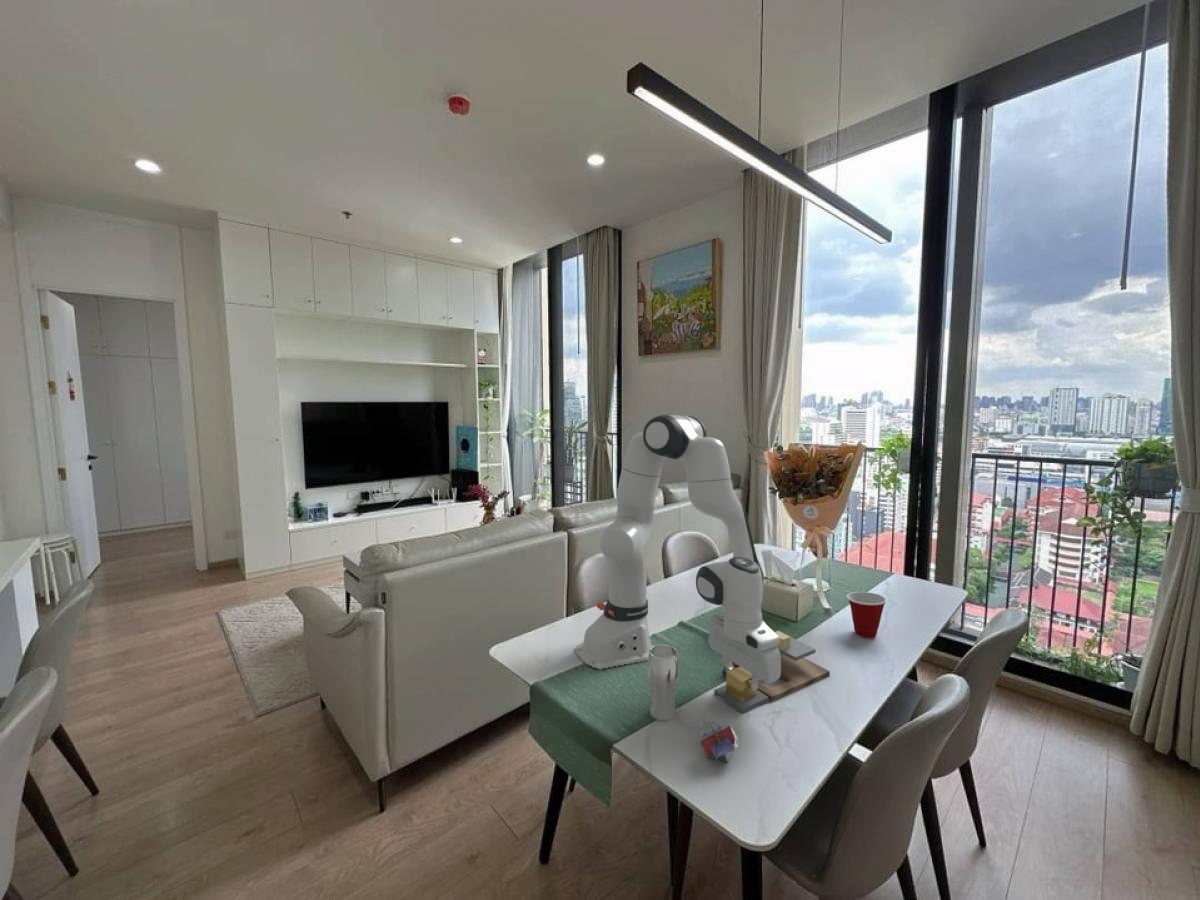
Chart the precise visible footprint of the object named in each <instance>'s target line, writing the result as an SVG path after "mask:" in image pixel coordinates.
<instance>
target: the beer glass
mask: <svg viewBox="0 0 1200 900" xmlns="http://www.w3.org/2000/svg"><path fill="white" fill-rule="evenodd" d="M648 655H649V657H648V660H647V674H648V675H647V676H648V683H649V689H650V693H651V695H650V697H651V699H650V700H651V701H650V705H649V706H650V707H649V714H650V716H651V718H653V719H655V720H656V721H660V722H667V721H672V720H674V719H675V717H676V715H677V709H676V703H675V696H676V689H677V685H678V680H679V679H678V678H679V657H678V656H679V654H678V650H677V649H676V648H675V647H674V646H672V645H670V644H663V643H661V644H660V643H659V644H655V645H652V647H651V648H650V649H649V654H648Z"/></svg>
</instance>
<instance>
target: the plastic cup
mask: <svg viewBox="0 0 1200 900" xmlns="http://www.w3.org/2000/svg"><path fill="white" fill-rule="evenodd" d="M846 598H847V599H848V603H849V606H850V611H851V617H852V618H851V619H852V623H853V630H854V633H855V635H857V636H859V637H861V638H864V639H875V638H876V637H877V634H878V629H879V628H880V623H881V619H882V614H883V611H884V607H885V604H886V603H887V599H888V598H886V597H885V596H883V595H882V594H879V593H874V592H867V591H854V592H850V593H847V594H846ZM874 637H875V638H874Z"/></svg>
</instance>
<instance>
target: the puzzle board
mask: <svg viewBox="0 0 1200 900" xmlns="http://www.w3.org/2000/svg"><path fill="white" fill-rule="evenodd" d="M780 656H781V675H780V678H779V679H778V680H780V681H782V682H783V683H781V684H778V685H776V686H774V687H771V688H770V687H769V686H767V685H766V684H764V683H763V682H761V681H759V682H758V688H757V690H758V691H760V692H761V693H763V694H764V695H766V696H768V697H769V702H774V701H777V700H778V699H780V698H783V697H786V696H787V695H790V694H792V693H794V692H797V691H798V690H800V689H803V688H805V687H807V686H809V685H812V684H815V683H816V682H818V681H821V680H822V679H825V678H827V677H829V676H830V674H831V673H830V672H831V671H830V670H829V669H827V668H824V667H823V666H821V665H819V664H817V663H815V662H813V661H811V660H810V659H807V658H806V657H804V658H802V659H799V660H797V661H794V660H792V659H791V658H789V657H787V656H785V655H783V654H781V653H780ZM732 664H733V667H735V668H738V667H740V666H739V665H737V664H735V663H734V662H732ZM723 671H724V672H725V673H726V666H725V665H724V666H723Z"/></svg>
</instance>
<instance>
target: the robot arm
mask: <svg viewBox="0 0 1200 900" xmlns="http://www.w3.org/2000/svg"><path fill="white" fill-rule="evenodd" d="M726 451H727V450H726V447H725V445H724V443H723V442H722V441H721V440H720V439H717V438H715V437H711V436H708V431H707V428H706V425H704V424H703V422H702V421H701V420H699V419H698V418H696V417H694V416H689V415H684V414H669V415H668V414H661V415H657V416H654V417H653V418H651V419H650V420H649V421H648V422H647V423H646V424H645V426H644V428H643V431H642V432H638V433H635V434H634V435H633V436H632V437H631V438H630V442H629V444H628V446H627V449H626V451H625V455H624V458H623V462H622V466H621V472H620V476H619V481H618V486H617V490H616V497H617V509H616V516H615V519H614V521H613V522H612V523H610V525H608V526H607V527H606V528H605V529H604V531H603V534H602V536H601V539H600V549H601V553H602V555H603V556H604V559H605V564H606V567H607V575H608V576H607V577H608V598H607V599H606V603H603V602H602V601H598V602H597V603H596V608H597V609H598V610H600V611H603V613H601V615H600V616H598V618H596V620H594V622H593V623H592V624H591V625H590V626H588V627H587V629H586V630H585V632H584V637H583V642H581V643H578V644H577V645H576V646H575V647H576V648H575V652H576V653H575V654H576V655H577V657H578V656H579V657H580V658H579V657H578V658H579V659H580V660H581V661H582V662H583V661H584V662H585V663H584V662H583V663H584V664H585V665H587V664H588V665H587V666H589V665H590V666H592V667H591V668H593V667H594V668H593V669H595V668H598V669H597V670H603V669H602V668H606V669H608V668H607V667H611V668H613V667H612V666H616V667H619V666H618V665H621V666H625V665H624V664H626V665H630V663H631V664H636V663H635V662H637V663H642V662H646V661H648V657H649V649H650V648H651V647H652V646H653V645H652V641H651V638H650V632H649V626H648V614H649V601H648V599H647V582H648V581H647V578H648V577H647V573H646V570H645V566H644V560H643V559H644V558H643V551H644V547H645V545H646V544H647V543H648V541H649V540H650V538H651V534H652V526H653V521H654V514H655V513H654V512H655V504H656V503H655V502H656V497H657V493H658V488H659V483H660V479H661V474H662V470H663V466H664V462H665V460H666V459H667V458H669V459H672V460H678V459H680V460H681V461H682V462H683V463H684V467H685V470H686V481H687V482H686V483H687V493H688V498H689V500H690V503H691V505H692V506H693V507H694V508H695V509H696V510H698V511H699V512H700V513H702V514H704V515H706V516H709V517H712V518H715V519H717V520H719V521H721V522H722V523H723V524H724V525H725V528H727V532H728V536H729V540H730V545H731V550H732V554H733V555H732V557H731V558H729V559H728V560H724V561H720V562H714V563H709V564H706V565H703V566H701V567H700V568H699V569H698V571H697V573H696V576H695V587H696V591H697V593H698V595H699V596H700V598H702V599H703V600H705V601H706V602H707V603H710V604H712V605H716V606H722V607H723V615H722V614H720V613H714V614H713V615H712V616H711V619H710V620H711V623H710V626H709V632H708V645H709V648H710V649H712V650H713V651H714V652H716V653H717V654H719V655H721V656H722V660H723V663H724V666H726V672H725V673H726V674H727V672H728V671H730V670H733V669H735V667H733V664H732V662H734V663H735V664H737V665H739V666H740V667H742V668H743V669H745V670H747V671H748V672H750V673H751V677H753V679H752V680H750V681H748V688H750V689H751V690H753V691H754V690H757V688H758V682H761V680H762V681H763V682H765V683H766V684H772V683H774V682H776V681H778V680H780V679H779V678H780V675H781V656H780V652H779V649H778V648H777V647H776V646H777V645H779V644H780V638H779V636H778V635H777V634H776V633H775V632H776V631H774V630H773V629H771V628H770V626H768V624H767V623H766V622H765V621H764V619H763V612H762V609H761V606H762V603H763V600H764V599H763V598H764V588H763V587H764V581H765V576H764V572H763V568H762V566H761V563H760V562H759V559H758V557H757V552H756V547H755V544H754V543H755V542H754V538H753V536H752V535H753V534H752V532H751V531H752V530H751V527H750V522H749V518H748V515H747V511H746V508H745V506H744V503H743V502H742V501H741V500H740V499H739V498H738V497H737V495H736V493H735V491H734V487H733V484H732V477H731V475H732V474H731V469H730V464H729V463H730V462H729V459H728V454H727V452H726ZM640 661H641V662H640ZM590 666H589V667H590Z"/></svg>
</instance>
